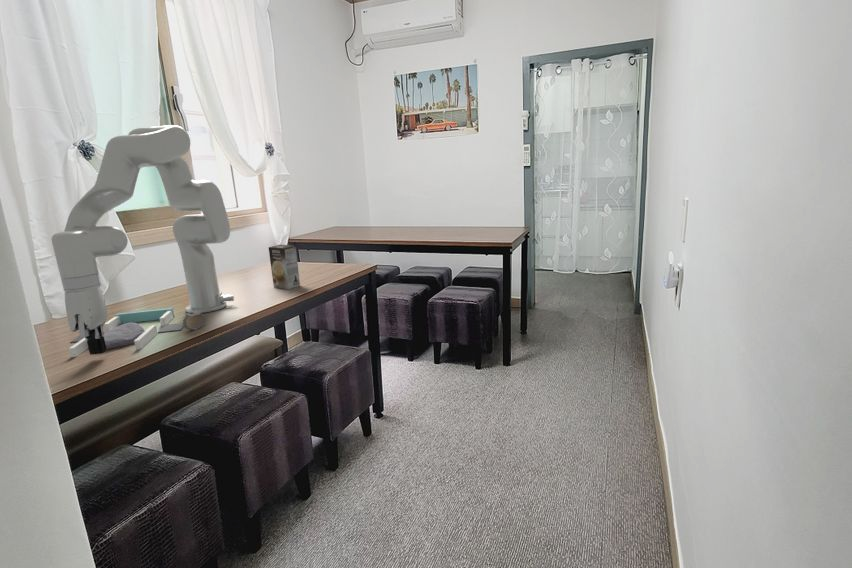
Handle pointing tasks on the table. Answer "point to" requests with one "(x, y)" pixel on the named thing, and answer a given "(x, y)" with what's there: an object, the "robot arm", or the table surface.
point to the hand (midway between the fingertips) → (98, 352)
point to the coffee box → (284, 266)
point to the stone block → (122, 335)
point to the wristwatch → (191, 316)
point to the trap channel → (146, 336)
